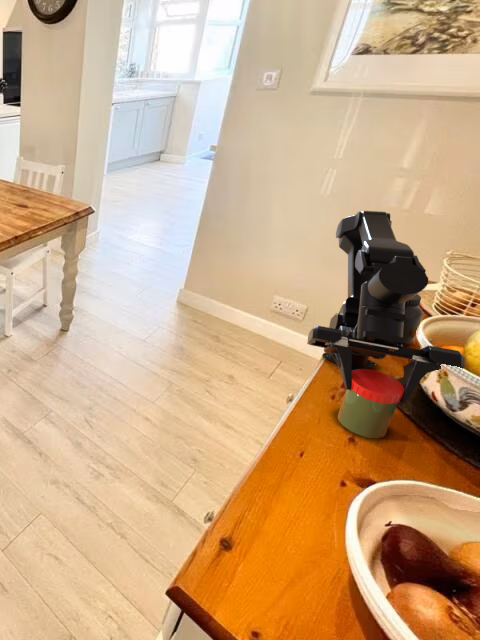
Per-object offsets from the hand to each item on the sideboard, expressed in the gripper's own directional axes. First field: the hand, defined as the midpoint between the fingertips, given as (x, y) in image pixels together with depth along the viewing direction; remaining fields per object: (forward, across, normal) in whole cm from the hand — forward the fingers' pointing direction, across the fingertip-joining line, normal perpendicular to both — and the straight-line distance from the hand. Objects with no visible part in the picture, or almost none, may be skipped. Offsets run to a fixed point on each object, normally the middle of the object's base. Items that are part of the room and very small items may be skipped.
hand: (374, 396), depth 69 cm
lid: (-2, 0, 0) cm, 2 cm away
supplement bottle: (-18, -8, -30) cm, 36 cm away
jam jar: (+5, 0, -6) cm, 8 cm away
